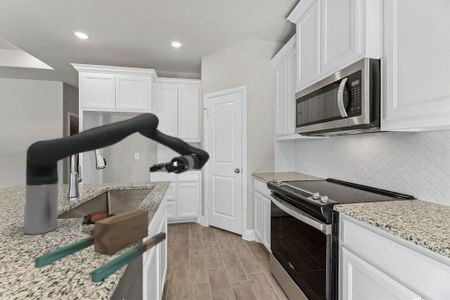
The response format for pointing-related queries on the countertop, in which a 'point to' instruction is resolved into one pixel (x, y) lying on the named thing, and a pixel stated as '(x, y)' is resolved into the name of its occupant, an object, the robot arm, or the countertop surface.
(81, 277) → the countertop surface
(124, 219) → the walnut block
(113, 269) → the lane
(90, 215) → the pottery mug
